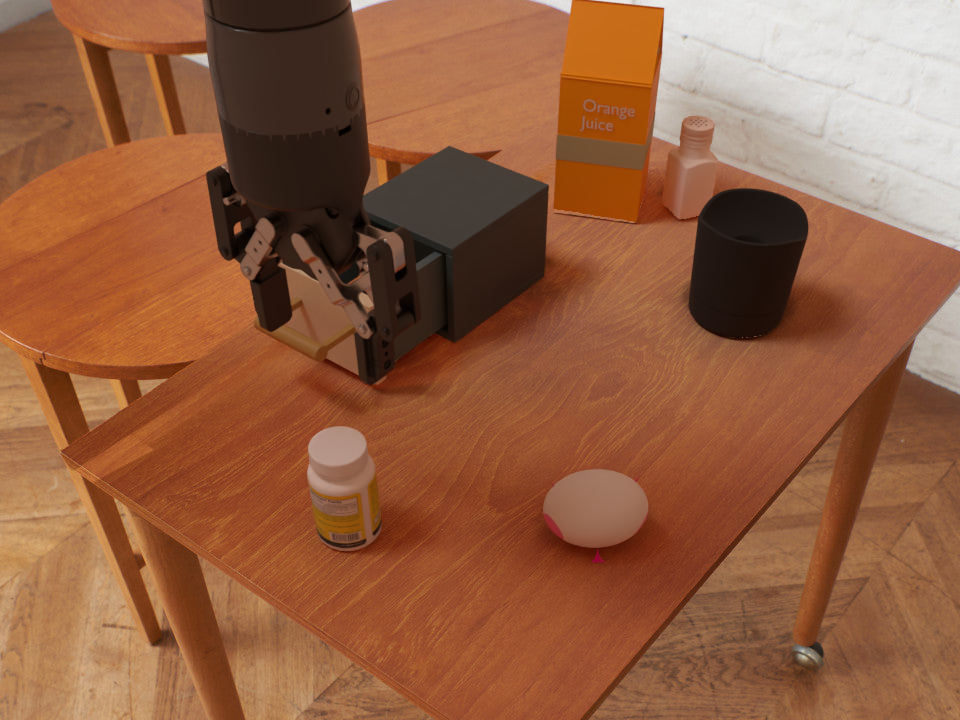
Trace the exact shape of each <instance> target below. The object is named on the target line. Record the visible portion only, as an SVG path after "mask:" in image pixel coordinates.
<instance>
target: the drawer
mask: <svg viewBox="0 0 960 720" xmlns="http://www.w3.org/2000/svg"><path fill="white" fill-rule="evenodd" d="M369 221H370V223H371V226H372V227H375V228H378V229H380V230H383V231H386V232H392V231H394V230H391V229H389V228H387V227H385V226H382V225H380V224H378V223H376V222H373V221H371V220H369ZM413 242H414V251H415V260H416V270H417V279H418V288H419V297H420V307H421V316H422V318H421V320H420V321H419V322H418V323H417V324H415V325H413V326H411V327H410V328H408V329H407V330H406V331H404V332H403V333H401V334H400V335H399V336H398V337H397V338H395V339H394V348H395V350H394V351H395V361H396V362H397V361H398V360H399V359H401V358H402V357H404V356H405V355H407V354H408V353H409V352H411V351H412V350H413V349H414V348H416V347H418V346H419V345H420V344H421V343H423V342H425V341H426V340H427V339H428V338H430V337H431V336H433V335H434V334H435V332H437V331H438V330H439V329H441V328H442V327H443V326H445V325H446V324H448V311H447V278H446V254H445V253H443V252H440V251H438V250H436V249H434V248H432V247H429V246H427V245H425V244H423V243H420V242H418V241H416V240H414V239H413ZM278 266H280V267H282V268H284V269H285V270H286V276H287V282H288V288H289V295H290V301H291V307H292V318H291V319H290V321H289V322H287V323H286V324H284V325H283V326H281V327H280V328H278V329H276V330H275V331H273V332H269V331H267V330H265V329H264V328H262V327H261V326H260V324H259V319H258V315H257V314H256V316H255V318H254V320H253V327H254V329H256V331H259V332H261V333H262V334H265V335H266V336H268V337H270V338H272V339H274V340H275V341H278V342H279V343H281V344H283V345H284V346H287V347H288V348H291V349H292V350H294V351H296V352H298V353H300V354H302V355H303V356H306V357H307V358H309V359H311V360H313V361H315V362H317V363H323V362H324V361H325V360H329V362H330V361H331V362H332V363H334V364H336V365H338V366H340V367H342V368H344V369H346V370H347V371H349V372H351V373H354V375H357V376H359V373H358V364H357V355H356V346H355V337H354V333H356V332H357V331H356V329H355V328H354V326H353V324H352V323H351V321H350V319H349V317H348V316H347V314H346V312H345V311H344V309H343V308H342V307H341V306H337V305H334V304H332V303H331V301H330V300H329V298H328V296H327V295H326V293H325V291H324V290H323V288H322V286H321V285H320V283H319V281H317V280H315V279H313V278H311V277H310V276H308V275H307V274H306V273H304V272H303V271H302V270H298V269H293V268H290V267H288V266H286V265H284V264H283V263H280V264H279V265H278ZM359 274H360V269H359V266H358V264H357V263H356V261H354V263H353V264H352V266H351V267H350V268H349V269H348V270H346V271H344V272H343V273H341V274H340V275H338V277H339V278H340V280H341V281H342V282H343V283H344V284H348V283H349V282H351V281H352V280H354V279H355V278H357V277H358V276H359ZM359 299H360V301H361V303H362V305H363V306H364V308H365V310H366V312H367V313H368V312H369V311H371V310H372V309H374V305H373V303H372V301H371V300H370V298H369V296H368V295H367V293H366V292H365V291H363V292H361V293H360V295H359ZM396 306H399V300H398V301H397V303H396ZM385 380H387V375H386V376H384V377H383V378H382V379H380V380H379V381H378V382H376V383H375V384H374V385H376V386H379V385H380V384H381V383H383V382H384V381H385Z"/></svg>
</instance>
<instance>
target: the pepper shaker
mask: <svg viewBox="0 0 960 720" xmlns="http://www.w3.org/2000/svg"><path fill="white" fill-rule="evenodd" d="M715 127H716V123H715V121H713V119H711V118H709V117H707V116H703V115H689V116H686V117H684V118H683V120H682V122H681V127H680V134H679V146H677V147H674V148H671V150H670V151H669V152H668V153H667V159H666V166H665V175H664V182H663V189H662V196H661V202H663V203H662V205H663V204H664V206H666V207H667V208H668V209H669V210H668V209H667V208H666V207H665V208H666V209H667V210H668V211H669V212H670V211H671V212H672V213H673V214H674V215H673V214H672V213H671V212H670V213H671V214H672V215H673V216H674V217H675V216H676V217H677V218H678V220H681V219H684V220H688V219H691V217H692V218H697V217H699V215H700V213H701V211H702V209H703V208H704V206H705V205H706V203H707V202H708V201H709V200H710V199H711V198H712V197H713V196H714V190H715V184H716V179H717V172H718V167H719V161H718V158H717V156H716V155H715V153H714V152H713V151H711V145H712V144H713V139H714V132H715ZM664 206H663V207H664ZM696 216H697V217H696ZM676 217H675V218H676ZM677 218H676V219H677ZM687 218H688V219H687Z"/></svg>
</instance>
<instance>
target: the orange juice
mask: <svg viewBox="0 0 960 720" xmlns="http://www.w3.org/2000/svg"><path fill="white" fill-rule="evenodd" d="M664 23H665V7H661V6H653V5H652V6H651V5H641V4H634V3H633V4H632V3H622V2H615V1H614V2H613V1H604V0H571V5H570V11H569V18H568V26H567V33H566V38H565V39H566V40H565V46H564V53H563V60H562V67H561V72H560V75H559V76H560V77H559V78H560V79H559V94H558V95H559V97H558V116H557V132H556V145H555V169H554V170H555V171H554V172H555V173H554V188H553V189H554V191H553V209H557V210H564V211H572V212H579V213H582V214H590V215H594V216H601V217H608V218H609V217H610V218H615V219H623V220H627V221H633V222H636V221H637V222H638V219H637V217H638V218H639V215H640V212H639V210H640V211H641V208H640V206H641V207H642V204H641V202H642V203H643V201H642V199H643V200H644V197H643V195H644V196H645V193H644V191H645V192H646V190H645V188H646V189H647V183H648V175H649V165H650V158H651V151H652V150H651V149H652V142H653V137H654V136H653V135H654V128H655V121H656V120H655V119H656V113H657V112H656V111H657V110H656V109H657V108H656V107H657V101H658V100H657V99H658V93H659V92H658V91H659V82H660V76H661V75H660V74H661V67H662V60H663V59H662V58H663V43H664ZM638 214H639V215H638Z"/></svg>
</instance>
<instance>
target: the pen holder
mask: <svg viewBox="0 0 960 720" xmlns="http://www.w3.org/2000/svg"><path fill="white" fill-rule="evenodd" d="M697 217H698V218H697V224H696V233H695V244H694V249H693V251H694V252H693V259H692V260H693V261H692V266H691V276H690V285H689V295H688V310H689V312H690V314H691V316H692V317H693V319H694V320H695V322H696V323H698V325H699V326H701V327H702V328H703V329H705V330H706V331H709V332H710V331H711V333H713V334H715V335H718V336H722V337H725V338H730V337H734V338H733V339H738V338H742V337H743V338H746V337H748V338H747V339H750V338H749V337H754V336H759V335H762V336H764V335H763V334H765V335H767V334H769V333H771V332H772V331H774V330H775V329H776V328H777V327H778V326H779V325H780V324H781V322H782V319H783V317H784V315H785V311H786V308H787V306H788V301H789V298H790V295H791V292H792V289H793V285H794V283H795V279H796V276H797V273H798V269H799V267H800V262H801V259H802V256H803V252H804V250H805V246H806V243H807V241H808V240H807V239H808V235H809V220H808V215H807V212H806V211H805V209H804V208H803V207H802V206H801V205H800V204H799V203H798V202H796V201H795V200H793V199H792V198H790V197H788V196H785V195H783V194H780V193H778V192H773V191H770V190H766V189H759V188H749V187H741V188H740V187H738V188H729V189H725V190H723V191H722V190H721V191H720V192H717V193H716V194H715V195H714V194H713V196H712V198H711V199H710V200H709V201H708V202H707V203H706V205H705V206H704V208H703V209H702V211H701V213H700V215H699V216H697ZM768 332H769V333H768ZM766 333H767V334H766ZM759 337H760V336H759Z"/></svg>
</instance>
